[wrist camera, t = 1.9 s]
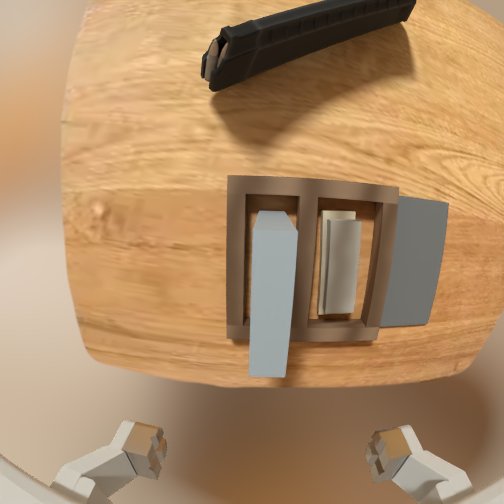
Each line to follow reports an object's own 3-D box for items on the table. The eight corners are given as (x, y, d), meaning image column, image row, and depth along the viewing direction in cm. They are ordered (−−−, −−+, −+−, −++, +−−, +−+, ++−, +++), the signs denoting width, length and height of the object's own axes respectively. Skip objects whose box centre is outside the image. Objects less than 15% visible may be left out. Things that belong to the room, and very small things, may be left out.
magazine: (423, -21, 16) (208, -21, 12) (439, -3, 16) (230, 1, 12) (364, 32, 32) (198, 80, 29) (375, 46, 33) (211, 100, 29)
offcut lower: (351, 210, 33) (355, 211, 31) (344, 307, 36) (348, 313, 34) (319, 209, 33) (322, 211, 32) (316, 308, 36) (318, 314, 35)
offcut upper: (356, 219, 31) (361, 221, 30) (349, 305, 34) (353, 312, 32) (327, 218, 32) (330, 220, 30) (322, 306, 34) (325, 313, 32)
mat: (446, 202, 31) (448, 202, 31) (425, 322, 36) (427, 323, 35) (393, 195, 32) (395, 195, 31) (375, 324, 36) (376, 327, 35)
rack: (390, 186, 32) (399, 187, 29) (370, 331, 36) (376, 339, 34) (230, 176, 32) (227, 175, 30) (229, 329, 37) (226, 338, 35)
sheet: (284, 211, 33) (298, 231, 19) (279, 304, 36) (285, 377, 21) (259, 210, 33) (253, 230, 19) (256, 303, 36) (248, 376, 22)
